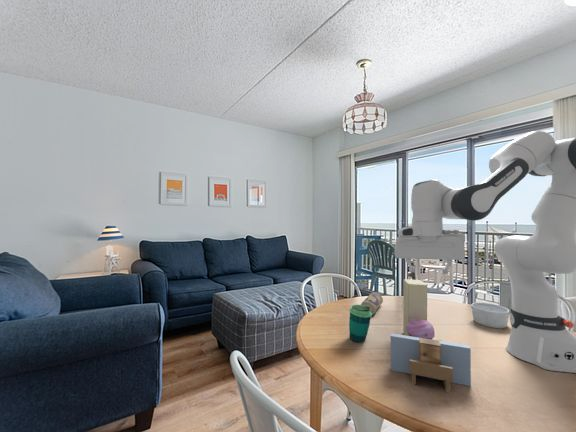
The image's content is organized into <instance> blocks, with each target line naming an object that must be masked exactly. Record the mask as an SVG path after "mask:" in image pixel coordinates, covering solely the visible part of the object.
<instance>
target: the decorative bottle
mask: <svg viewBox="0 0 576 432" xmlns="http://www.w3.org/2000/svg"><path fill="white" fill-rule="evenodd" d="M383 302H384V298H383V296H382V295H381V294H380V293H378V292H370V293H369V295H368V296H367V297H366V298H365V299H364V300H363V301H362V302H361V304H360V305H365V306H368V307H369V308H370V312H371V313H372V316H373V315H374V314H376V312H377V311H378V310H379V307H380V306H381V305H382V304H383Z"/></svg>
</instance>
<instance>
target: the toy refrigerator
mask: <svg viewBox="0 0 576 432" xmlns="http://www.w3.org/2000/svg"><path fill="white" fill-rule="evenodd" d="M402 300H403V301H402V302H403V303H402V304H403V307H402V308H403V309H402V310H403V315H402V316H403V320H402V323H403V325H402V326H403V329H402V331H403V332H402V333H403V335H405V336H409V333H408V332H407V330H406V325H407V323H408V322H409V321H410V320H411V319H421V320H426V321H428V284H427V283H426V282H424V281H423V280H422V279H409V278H406V279H403V299H402Z"/></svg>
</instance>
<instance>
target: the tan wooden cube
mask: <svg viewBox="0 0 576 432" xmlns="http://www.w3.org/2000/svg"><path fill="white" fill-rule="evenodd" d="M439 341H440V340H438V339H433V338H432V339H426V338H419V361H422V362H427V363H432V364H438V365H441V345H440V342H439Z"/></svg>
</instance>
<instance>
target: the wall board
mask: <svg viewBox="0 0 576 432" xmlns="http://www.w3.org/2000/svg"><path fill="white" fill-rule="evenodd" d="M439 342H440V345H441V365H438V364H432V363H427V362H422V361H419V338H418V337H412V336H405V334H396V333H390V370H391V371H394V372H400V373H404V374H409V375H410V377H411V384H412V385H414V386H415V385H416V384H417V376H419V377H422V378H428V379H433V380H438V381H442V382H443V385H444V389H445V392H448V393H451V383H453V384H458V385H462V386H463V385H464V386H469V387H471V386H472V381H471V380H472V374H471V372H472V371H471V370H472V369H471V368H472V367H471V365H472V362H471V360H472V359H471V354H472V353H471V347H470V345H469V344H462V343H456V342H449V341H443V340H439Z"/></svg>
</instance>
